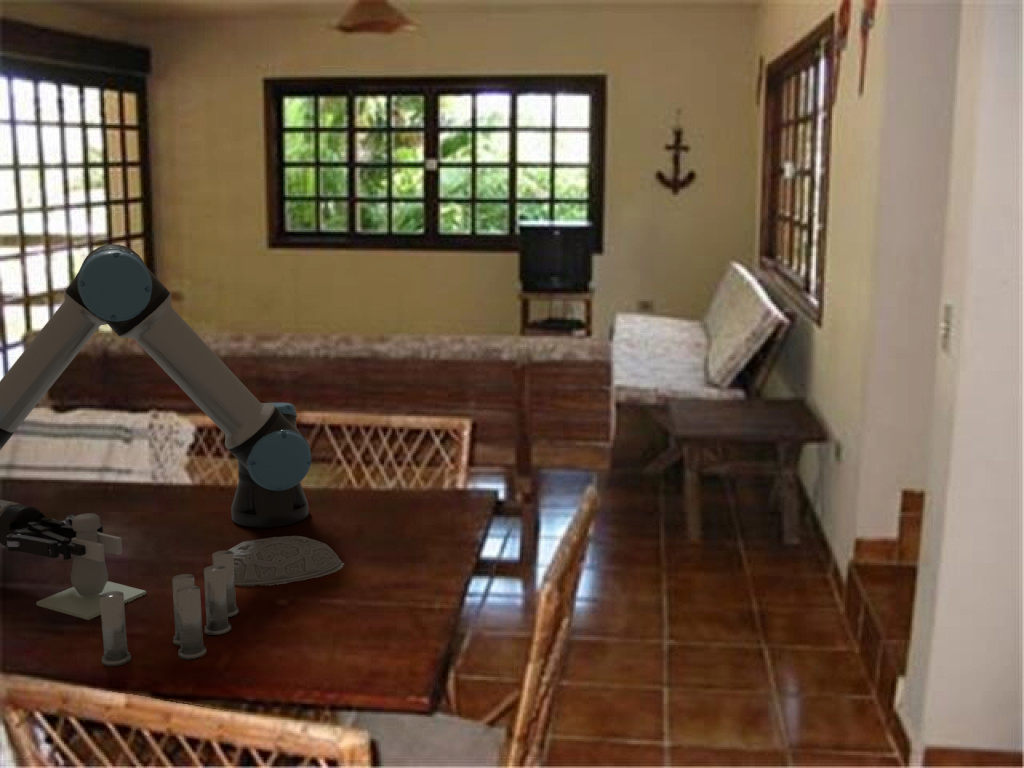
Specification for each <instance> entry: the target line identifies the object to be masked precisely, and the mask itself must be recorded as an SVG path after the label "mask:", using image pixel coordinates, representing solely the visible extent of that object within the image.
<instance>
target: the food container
mask: <svg viewBox="0 0 1024 768" xmlns="http://www.w3.org/2000/svg"><path fill="white" fill-rule="evenodd" d="M227 551H232V552H233V558H234V577H235V585H241V586H240V587H256V586H255V585H260V586H259V587H261V585H262V586H263V585H265V586H267V585H268V586H275V584H276V586H277V585H285V584H288V583H289V584H290V583H293V582H300V581H305V580H308V579H309V580H310V579H315V578H321V577H324V576H326V575H331V574H333V573H336V572H338V571H340V570H342V568H343V567H344V566H345V563H344V562H343V561H342V560H341V559H340V558H339V556H338V554H336V552H335V551H334V550H333V549H332V548H331V547H330V546H329V545H328V544H326V543H325V542H322V541H319V540H318V539H317V540H316V539H313V538H310V537H309V538H308V537H306V536H301V535H300V536H299V535H289V536H288V535H286V536H285V535H284V536H273V537H267V538H258V539H252V540H247V541H242V542H240V543H238V544H236V545H235V546H233V547H230V548H229V549H228V550H227ZM343 565H344V566H343ZM242 585H243V586H242ZM247 585H248V586H247ZM263 587H264V586H263Z"/></svg>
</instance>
